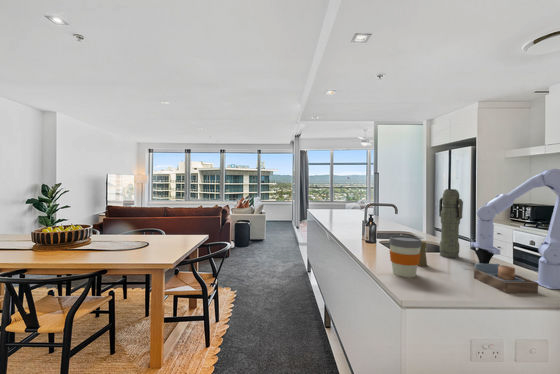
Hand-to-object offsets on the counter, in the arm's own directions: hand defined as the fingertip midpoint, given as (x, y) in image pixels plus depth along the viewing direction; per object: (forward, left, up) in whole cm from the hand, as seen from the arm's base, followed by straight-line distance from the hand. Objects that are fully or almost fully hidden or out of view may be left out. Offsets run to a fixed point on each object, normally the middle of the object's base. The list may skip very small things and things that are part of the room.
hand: (483, 267), depth 125 cm
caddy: (0, +11, -3) cm, 11 cm away
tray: (0, +9, -2) cm, 9 cm away
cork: (+19, -16, -4) cm, 25 cm away
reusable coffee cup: (+33, -2, -4) cm, 33 cm away
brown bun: (0, +12, -1) cm, 12 cm away
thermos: (-5, -32, -4) cm, 33 cm away
